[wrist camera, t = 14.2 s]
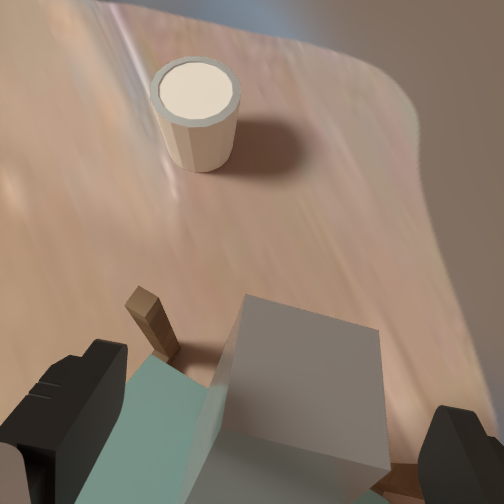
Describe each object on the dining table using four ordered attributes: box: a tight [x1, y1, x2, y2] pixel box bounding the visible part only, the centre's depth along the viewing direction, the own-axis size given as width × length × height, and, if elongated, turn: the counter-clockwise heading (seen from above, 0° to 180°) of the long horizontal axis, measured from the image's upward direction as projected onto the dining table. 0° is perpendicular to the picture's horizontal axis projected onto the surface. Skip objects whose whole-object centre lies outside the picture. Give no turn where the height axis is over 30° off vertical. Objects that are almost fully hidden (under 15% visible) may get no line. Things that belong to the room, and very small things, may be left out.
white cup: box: [150, 56, 241, 173], centre depth 39 cm, size 7×7×7 cm
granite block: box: [178, 294, 391, 504], centre depth 18 cm, size 5×5×10 cm
